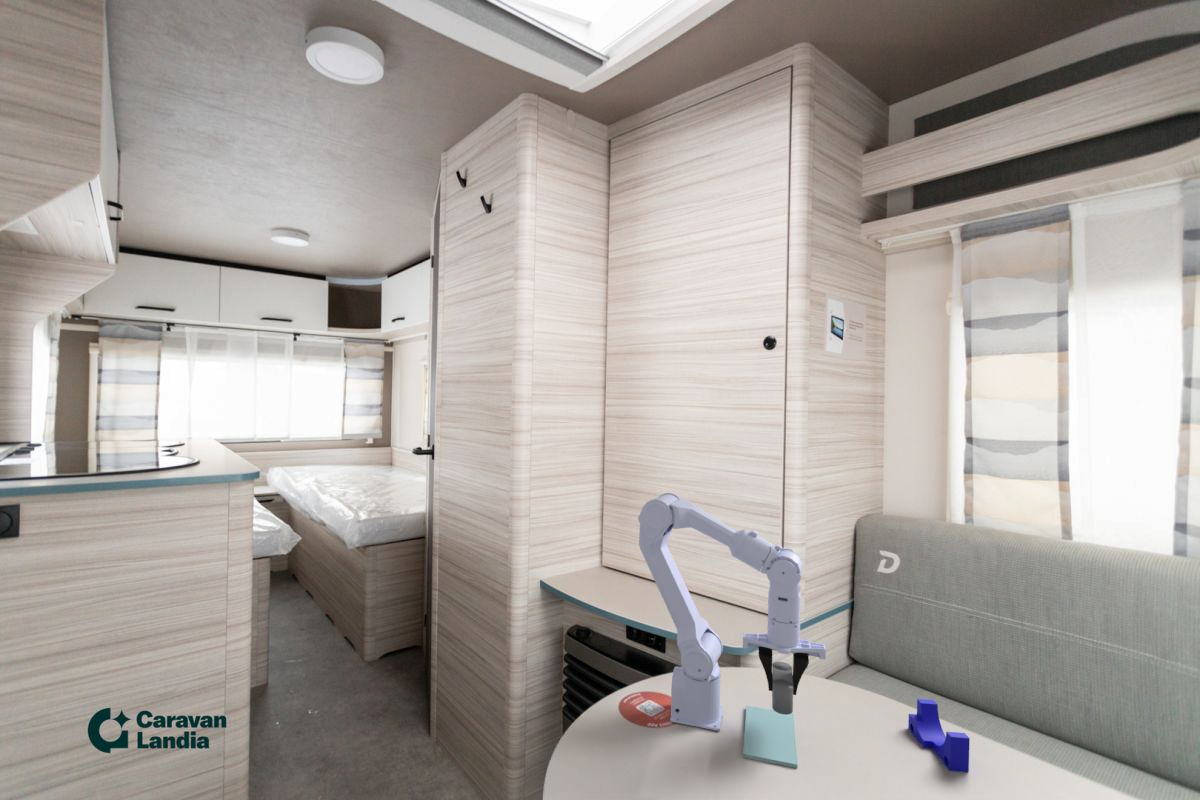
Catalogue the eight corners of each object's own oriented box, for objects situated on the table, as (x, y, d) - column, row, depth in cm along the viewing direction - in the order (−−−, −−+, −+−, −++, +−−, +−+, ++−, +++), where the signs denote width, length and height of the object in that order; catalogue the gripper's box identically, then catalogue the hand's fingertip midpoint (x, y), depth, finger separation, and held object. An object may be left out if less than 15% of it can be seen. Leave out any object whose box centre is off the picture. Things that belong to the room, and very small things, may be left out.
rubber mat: (743, 757, 97) (743, 753, 97) (746, 708, 112) (746, 705, 112) (797, 768, 94) (797, 764, 94) (793, 716, 110) (793, 713, 110)
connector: (772, 712, 98) (772, 687, 98) (771, 679, 110) (772, 656, 110) (793, 716, 97) (793, 690, 97) (790, 682, 109) (790, 659, 109)
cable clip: (908, 729, 107) (909, 698, 107) (932, 731, 106) (933, 699, 106) (940, 771, 95) (941, 736, 95) (968, 773, 94) (969, 738, 94)
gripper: (742, 620, 101) (740, 694, 101) (828, 631, 97) (826, 708, 97) (744, 606, 108) (742, 675, 108) (824, 616, 103) (822, 688, 104)
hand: (782, 690), depth 103 cm, fingers closed on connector, 3 cm apart
